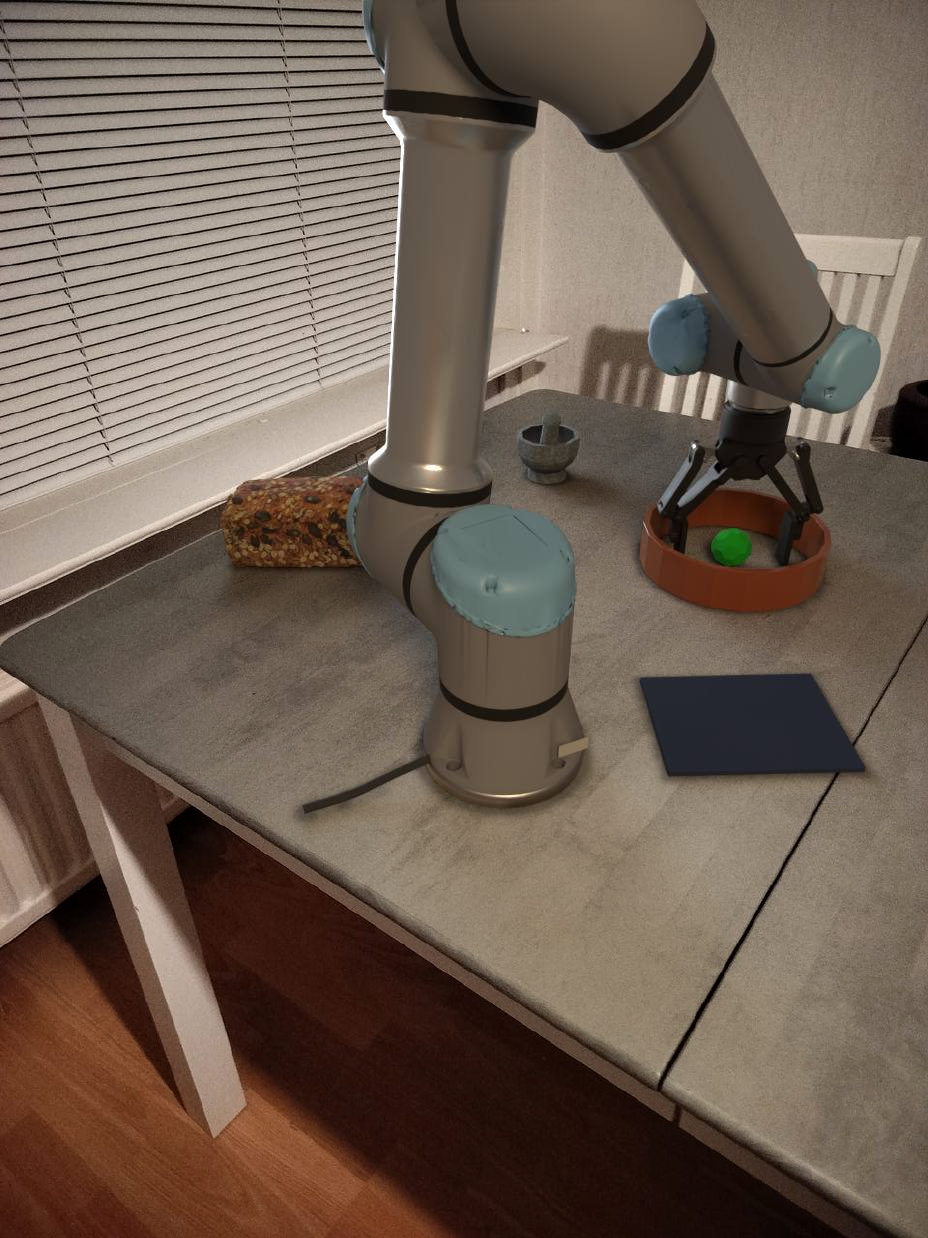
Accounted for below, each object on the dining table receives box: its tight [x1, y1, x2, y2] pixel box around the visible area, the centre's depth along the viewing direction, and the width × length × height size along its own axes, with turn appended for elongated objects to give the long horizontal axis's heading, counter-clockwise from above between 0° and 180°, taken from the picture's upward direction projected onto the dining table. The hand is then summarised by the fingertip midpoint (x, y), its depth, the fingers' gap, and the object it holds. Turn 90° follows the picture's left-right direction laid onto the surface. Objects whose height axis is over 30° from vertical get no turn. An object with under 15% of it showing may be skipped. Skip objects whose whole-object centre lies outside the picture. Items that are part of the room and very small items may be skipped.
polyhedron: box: [710, 527, 753, 567], centre depth 106 cm, size 5×5×5 cm
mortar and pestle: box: [516, 411, 581, 485], centre depth 127 cm, size 11×9×12 cm
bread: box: [220, 475, 364, 568], centre depth 109 cm, size 19×11×10 cm, turn 86°
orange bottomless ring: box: [638, 487, 833, 613], centre depth 105 cm, size 23×23×6 cm
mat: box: [639, 672, 867, 777], centre depth 81 cm, size 18×14×1 cm
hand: (729, 562), depth 107 cm, fingers open, 13 cm apart
